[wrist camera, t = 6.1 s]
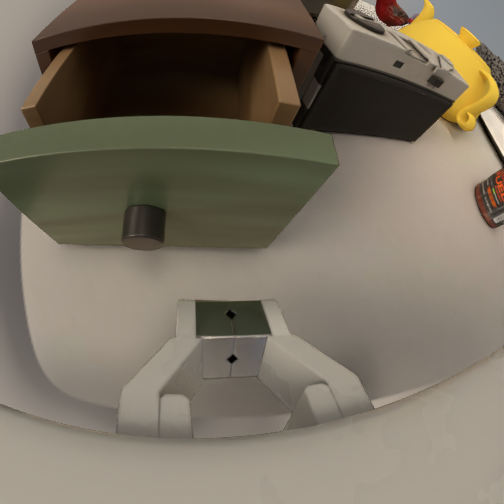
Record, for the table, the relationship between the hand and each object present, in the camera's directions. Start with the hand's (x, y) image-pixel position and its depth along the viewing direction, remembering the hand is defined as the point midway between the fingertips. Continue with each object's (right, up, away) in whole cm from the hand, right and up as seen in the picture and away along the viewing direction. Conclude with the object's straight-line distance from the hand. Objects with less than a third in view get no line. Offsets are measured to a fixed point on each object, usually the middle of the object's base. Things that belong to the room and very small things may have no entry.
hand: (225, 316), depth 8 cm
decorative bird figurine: (+29, +48, +28) cm, 62 cm away
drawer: (-4, +8, +7) cm, 11 cm away
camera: (+10, +16, +13) cm, 23 cm away
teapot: (+28, +29, +21) cm, 45 cm away
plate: (+55, +23, +26) cm, 65 cm away
